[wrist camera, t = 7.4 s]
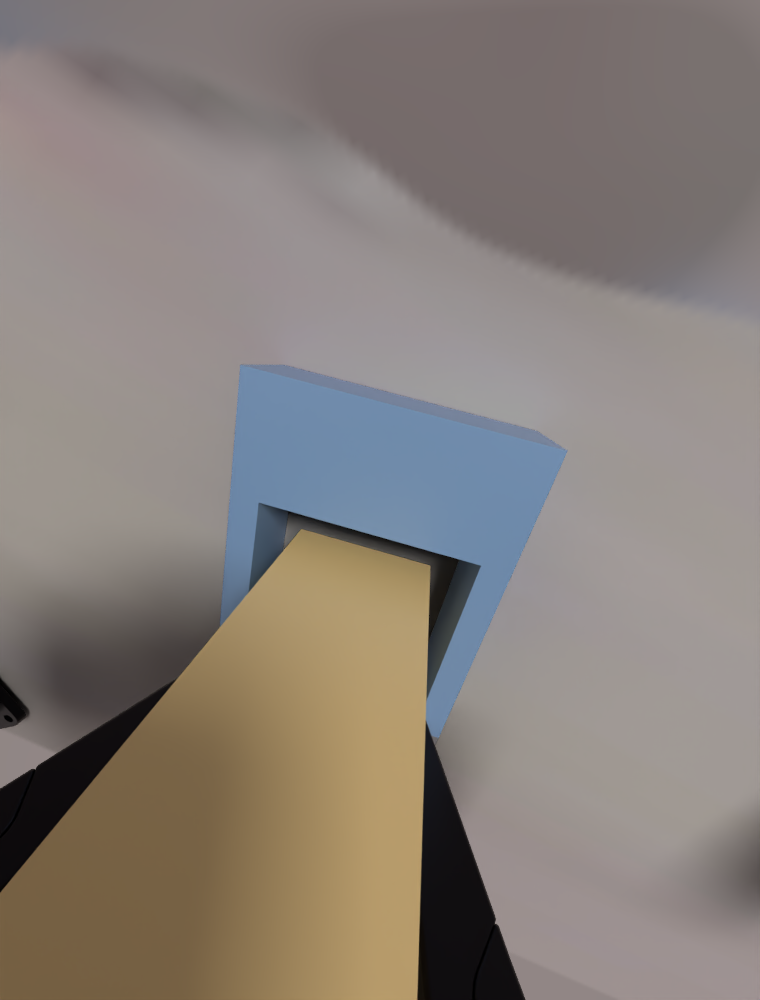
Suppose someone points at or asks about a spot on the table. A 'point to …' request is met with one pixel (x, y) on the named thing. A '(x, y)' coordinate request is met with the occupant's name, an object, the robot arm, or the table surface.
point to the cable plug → (252, 810)
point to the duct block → (387, 494)
